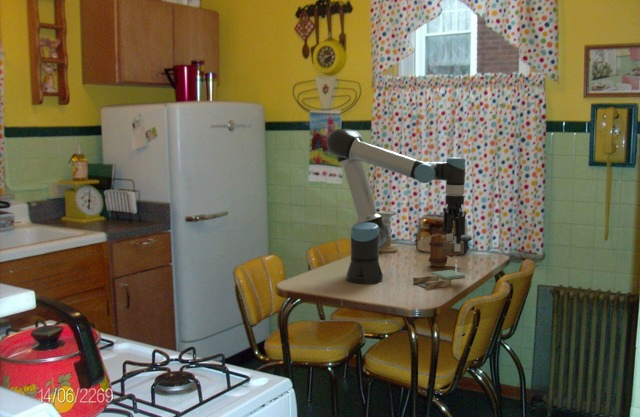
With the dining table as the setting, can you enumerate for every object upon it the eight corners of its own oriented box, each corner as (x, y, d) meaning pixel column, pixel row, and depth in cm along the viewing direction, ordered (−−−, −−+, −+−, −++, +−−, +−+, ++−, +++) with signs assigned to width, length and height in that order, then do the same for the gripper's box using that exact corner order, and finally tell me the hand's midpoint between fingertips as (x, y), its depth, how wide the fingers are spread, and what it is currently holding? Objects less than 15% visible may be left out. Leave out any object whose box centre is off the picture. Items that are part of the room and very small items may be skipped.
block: (449, 255, 269) (449, 243, 268) (442, 253, 273) (443, 241, 273) (463, 253, 271) (464, 242, 270) (457, 251, 276) (457, 240, 275)
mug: (432, 268, 294) (433, 235, 292) (424, 264, 302) (425, 232, 300) (461, 266, 298) (462, 234, 296) (453, 263, 305) (454, 231, 304)
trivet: (445, 279, 273) (445, 276, 273) (431, 274, 282) (431, 271, 282) (464, 277, 277) (464, 274, 277) (450, 272, 286) (450, 269, 286)
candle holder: (385, 247, 344) (386, 210, 341) (402, 251, 334) (403, 212, 332) (369, 250, 336) (369, 212, 333) (386, 254, 326) (386, 214, 324)
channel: (426, 288, 257) (426, 282, 257) (413, 283, 266) (413, 277, 266) (451, 285, 262) (451, 279, 262) (437, 280, 271) (437, 274, 271)
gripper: (475, 196, 262) (473, 253, 265) (450, 192, 279) (448, 245, 282) (459, 197, 259) (457, 254, 262) (435, 192, 276) (433, 246, 279)
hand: (453, 249), depth 272 cm, fingers closed on block, 5 cm apart
